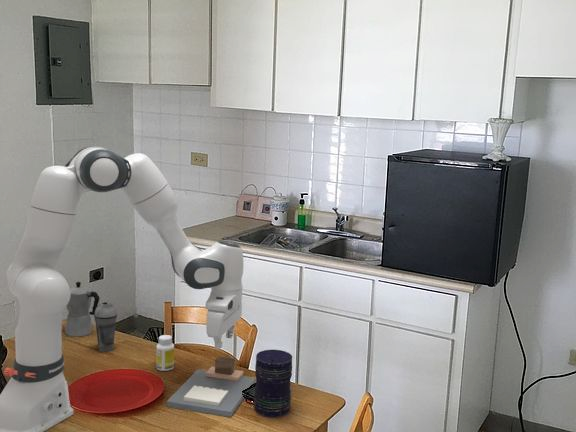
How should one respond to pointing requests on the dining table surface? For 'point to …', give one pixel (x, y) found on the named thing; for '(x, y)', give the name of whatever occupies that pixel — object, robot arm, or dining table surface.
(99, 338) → the beverage cup
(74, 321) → the coffeepot
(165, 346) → the supplement bottle
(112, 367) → the dining table surface
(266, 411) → the storage jar
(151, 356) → the dining table surface
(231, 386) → the board
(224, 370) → the brown and pink block
